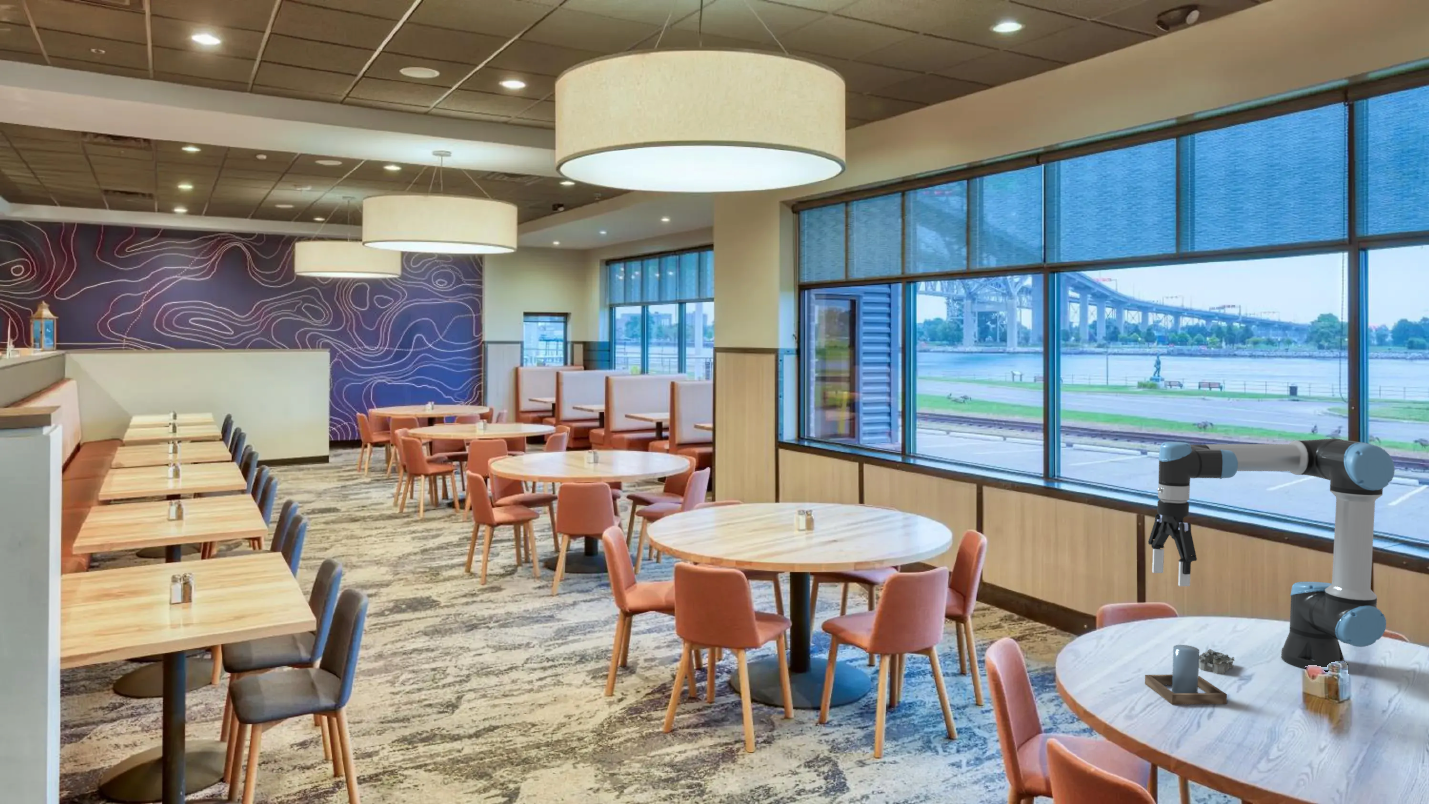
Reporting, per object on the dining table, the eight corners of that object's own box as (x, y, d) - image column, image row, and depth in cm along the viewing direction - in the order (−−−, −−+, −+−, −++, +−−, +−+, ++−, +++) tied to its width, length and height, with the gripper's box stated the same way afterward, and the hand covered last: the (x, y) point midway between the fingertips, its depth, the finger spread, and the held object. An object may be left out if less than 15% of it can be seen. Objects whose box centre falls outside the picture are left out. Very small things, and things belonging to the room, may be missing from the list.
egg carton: (1221, 676, 256) (1221, 661, 256) (1192, 668, 262) (1193, 654, 261) (1237, 667, 263) (1237, 653, 262) (1209, 660, 268) (1209, 646, 268)
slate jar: (1189, 689, 246) (1191, 644, 245) (1202, 698, 240) (1204, 652, 239) (1167, 689, 246) (1168, 644, 245) (1179, 698, 240) (1181, 652, 239)
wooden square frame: (1196, 683, 250) (1196, 674, 250) (1226, 703, 236) (1226, 694, 236) (1144, 683, 249) (1145, 674, 249) (1172, 704, 235) (1172, 694, 235)
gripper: (1136, 492, 260) (1134, 567, 262) (1184, 509, 235) (1181, 591, 237) (1163, 492, 260) (1160, 567, 262) (1213, 508, 236) (1210, 591, 237)
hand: (1170, 579), depth 249 cm, fingers open, 13 cm apart
